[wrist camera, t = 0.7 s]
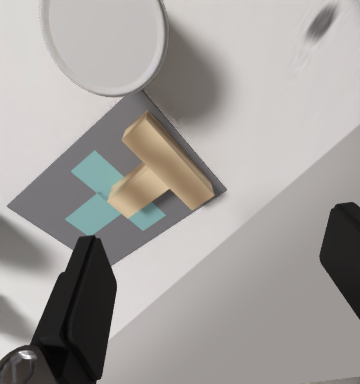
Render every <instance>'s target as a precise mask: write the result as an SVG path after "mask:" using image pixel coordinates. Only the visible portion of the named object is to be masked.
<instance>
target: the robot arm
mask: <svg viewBox="0 0 360 384" xmlns="http://www.w3.org/2000/svg"><path fill="white" fill-rule="evenodd" d="M319 257H320V262H321V264H322V265H323V267H324V268H325V270H326V271H327V273H328V274H329V275H330V277H331V278H332V280H333V281H334V283H335V284H336V286H337V287H338V289H339V290H340V292H341V293H342V295H343V296H344V297H345V299H346V300H347V302H348V303H349V305H350V306H351V308H352V309H353V311H354V312H355V313H356V315H357V316H358V318H359V319H360V207H359V206H358V205H356V204H355V203H353V202H348V203H341V204H337V205H335V207H334V208H333V209H331V212H330V215H329V219H328V224H327V227H326V231H325V235H324V239H323V243H322V247H321V251H320V256H319ZM116 291H117V283H116V279H115V276H114V274H113V271H112V268H111V266H110V263H109V260H108V257H107V255H106V252H105V249H104V247H103V244H102V241H101V239H100V238H96V236H95V235H88V236H81V237H79V238H78V240H77V242H76V245H75V247H74V250H73V252H72V255H71V257H70V260H69V263H68V265H67V268H66V270H65V272H62V273H61V274H60V275H59V277H58V278H57V281H56V283H55V286H54V288H53V290H52V293H51V295H50V298H49V300H48V302H47V305H46V307H45V310H44V312H43V314H42V317H41V319H40V321H39V324H38V326H37V329H36V331H35V333H34V336H33V338H32V341H31V343H30V345H24V346H21V347H18V348H16V349H14V350H13V351H11V352H9V353H8V354H7V355H6V356H5V357H3V358H2V359H1V360H0V384H96V381H97V380H100V379H101V377H102V373H103V367H104V361H105V356H106V350H107V344H108V338H109V332H110V326H111V321H112V315H113V309H114V303H115V297H116ZM302 384H360V377H353V378H343V379H336V380H326V381H318V382H310V383H302Z"/></svg>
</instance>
